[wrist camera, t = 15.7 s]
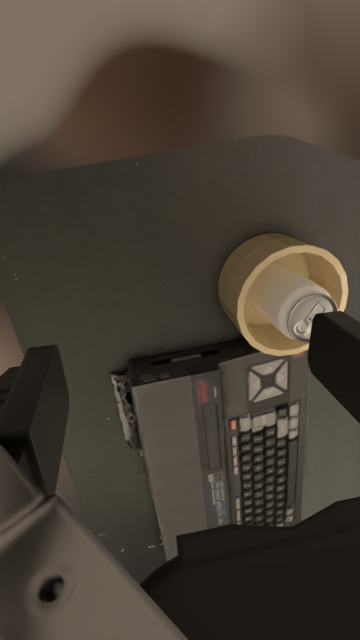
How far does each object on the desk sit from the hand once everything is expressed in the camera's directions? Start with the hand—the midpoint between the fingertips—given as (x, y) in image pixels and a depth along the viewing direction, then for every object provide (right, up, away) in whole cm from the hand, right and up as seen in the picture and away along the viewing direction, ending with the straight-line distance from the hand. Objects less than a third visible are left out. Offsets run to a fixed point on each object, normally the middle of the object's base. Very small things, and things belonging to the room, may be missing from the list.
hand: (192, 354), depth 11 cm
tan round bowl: (+11, +6, +36) cm, 38 cm away
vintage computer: (+6, -21, +47) cm, 52 cm away
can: (+11, +6, +36) cm, 38 cm away
